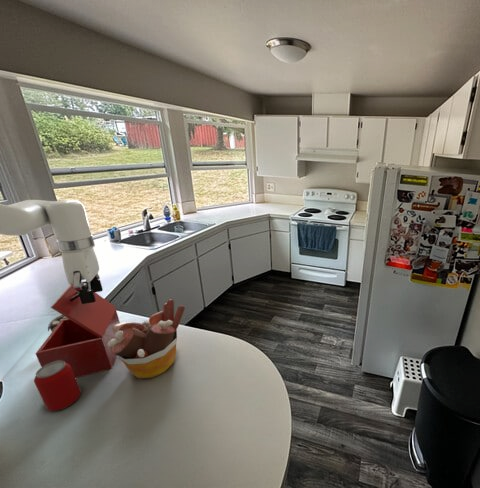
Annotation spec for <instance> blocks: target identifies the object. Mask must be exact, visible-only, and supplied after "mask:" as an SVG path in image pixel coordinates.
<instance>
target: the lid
mask: <svg viewBox="0 0 480 488" xmlns="http://www.w3.org/2000/svg"><path fill="white" fill-rule="evenodd" d="M73 285H74V284H72V285H70V284H69V286H68V287H67V288H66V289H65V291H64V292H63V293H62V294H61V295H60V296H59V297H58V298H57V299H56V301H54V303H53V304H52V305H51V306H50V309H52V310H54V311H56V313H59V314H61V315H64V316H65V317H67V318H68V319H70V320H72V321H73V322H75V323H76V324H78V325H80V326H81V327H83V328H84V329H86V330H88V331H89V332H91V333H92V334H94V335H96V336H97V337H99V338H101V337H103V335H104V333H105V331H106V329H107V326H108V324H109V322H110V320H111V318H112V316H113V314H114V312H115V310H116V311H117V307H116V306H115V305H113V304H112V303H111V302H109V301H108V300H107V299H105V298H104V297H103V296H101V295H100V294H99V293H98V292H94V296H95V299H96V301H95V302H93V303H86V304H82V303H81V300H80V297H79V294H78V293H77V290H76V289H74V287H73ZM82 286H85V287H87V286H86V283H85V284H82ZM90 286H91V287H92V286H93V283H92V282H90Z"/></svg>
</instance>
